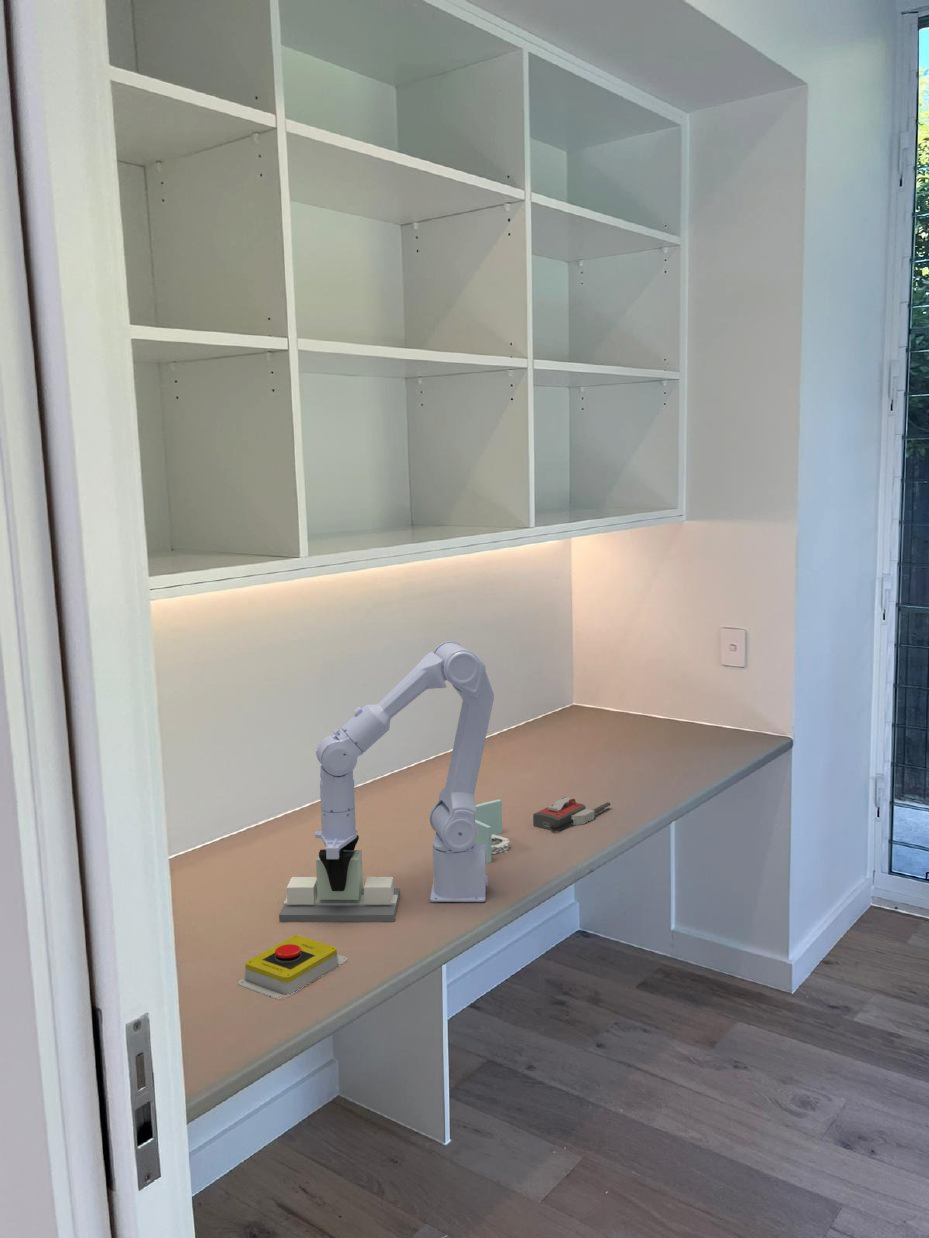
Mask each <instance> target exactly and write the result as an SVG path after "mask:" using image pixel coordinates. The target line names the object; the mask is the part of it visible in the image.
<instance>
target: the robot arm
mask: <svg viewBox="0 0 929 1238" xmlns="http://www.w3.org/2000/svg"><path fill="white" fill-rule="evenodd" d="M445 681H448V682H449V683H450V684H451V685H452V687H453V688H454V689H455V691H456V692H457V694H458V695H459V696H460V698H461V699H462V702H461V707H460V713H459V717H458V723H457V727H456V732H455V738H454V742H453V745H452V746H453V747H452V752H451V756H450V762H449V767H448V771H447V777H446V782H445V786H444V787H443V789H442V790H441V791H440V792H439V795H438V799H437V802H436V803H435V805H434V806H433V808H432V809H431V811H430V813H429V814H430V815H429V823H430V826H431V828H432V829H433V830H434V831H435V837H434V838H433V841H432V863H433V864H432V865H433V866H432V868H433V869H432V871H433V872H432V873H433V875H432V877H433V882H432V885H431V891H430V898H429V900H430V902H431V903H445V902H446V903H453V902H454V903H459V902H460V903H473V902H474V903H475V902H476V903H477V902H478V903H483V902H486V897H487V895H486V892H487V890H486V889H487V887H488V886H489V885H488V882H489V881H488V875H487V869H486V854H485V845H483V844H477V843H474V842H475V840H476V837H477V826H476V823H475V816H476V805H477V804H476V800H475V792H476V787H477V783H478V778H479V772H480V768H481V763H482V758H483V753H484V749H485V742H486V738H487V733H488V728H489V724H490V720H491V715H492V710H493V704H494V698H495V693H494V691H493V687H492V685H491V683H490V680H489V677H488V675H487V672H486V665H485V663H484V662H483V661H482V660H481V658H479V656H478V655H476V654H475V653H474V652H473V651H471V650H469V649H466V648H465V647H463V645H461V644H460V643H459V642H456V641H453V640H449V641H447V640H446V641H444V642H442V643H440V644H438V645H437V646H436V647H435V648H434V649H433V651H430V652H428V653H427V654H426V655H425V656H424V657H423V658H421V660H420V661H419V662H418V663H417V664H416V665H415V666H414V667H413V668H412V669H411V670H410V671H409V673H407V674H406V676H404V677H403V678H402V679H401V680H400V681H399V682H398V683H397V684H396V685H395V686H394V687H393V688H392V689H391V690H390V691H389V692H388V693H387V694H386V695H385V696H384V697H383V698H382V699H381V700H380V701H379V702H378V703H376V704H374V703H373V704H365V705H364V706H363V707H361V706H358V707H356V708H355V709H354V710H353V713H354V715H353V716H352V717H351V718H349V719H348V721H346V723H343V725H342V726H341V727H340V728H338V727H336V728H334V729H333V731H332V733H333V734H332V735H327V736H326V737H323V738H322V740H320V742H319V743H318V747H317V748H316V749H317V750H316V751H315V755H316V758H317V760H318V762H319V764H321V765H320V767H319V768H320V770H319V771H320V772H319V777H320V780H319V791H320V793H319V795H320V817H321V819H320V820H321V830H316V831H315V833H314V839H320V840H321V841H322V842H323V845H324V847H325V848H322V849H320V850H319V851H318V855H319V858H320V860H321V861H322V863H323V865H324V867H325V869H326V871H327V875H328V878H329V882H330V886H331V889H332V891H344V890H345V886H346V880H347V871H348V866H349V862H350V860H351V857H352V855H353V853H354V851H343V850H355V848H356V846H357V843H358V841H359V838H360V837H359V835H358V831H357V828H356V825H357V823H356V797H355V796H356V795H355V793H356V792H355V779H354V769H355V768H356V766H357V763H358V757H360V756H363V754H364V753H365V752H366V751H368V750H369V749H370V748H371V747H372V746H373V745H374V744H375V743H376V742H378V741H379V740H380V739H381V738H382V737H383V736H384V735H385V734H386V733H387V732H388V731H389V730H390V724H391V720H392V719H393V717H395V716H396V715H397V714H398V713H399V712H401V711H402V710H403V709H404V708H406V707H407V706H408V705H409V704H410V703H412V702H413V701H414V700H416V699H417V698H418V697H419V696H421V694H423V693H425V691H426V690H434V689H445V688H447V684H446V682H445Z"/></svg>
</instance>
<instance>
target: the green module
mask: <svg viewBox="0 0 929 1238" xmlns="http://www.w3.org/2000/svg"><path fill="white" fill-rule="evenodd" d="M343 851H354V853H353V855H352V857H351V860H350V862H349V866H348V871H347V880H346V886H345V890H344V891H332V889H331V886H330V882H329V878H328V875H327V871H326V869H325V867H324V865H323V863H322V861H321V860H320V858H319V854H318V856H317V857H316V859H315V865H316V866H315V867H316V868H315V869H316V877H317V897H318V900H359V899H360V896H361V893H362V890H363V888H364V883H363V882H364V881H363V880H364V879H363V852H362V849H361V850H360V849H356V850H355V849H354V850H343Z"/></svg>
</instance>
